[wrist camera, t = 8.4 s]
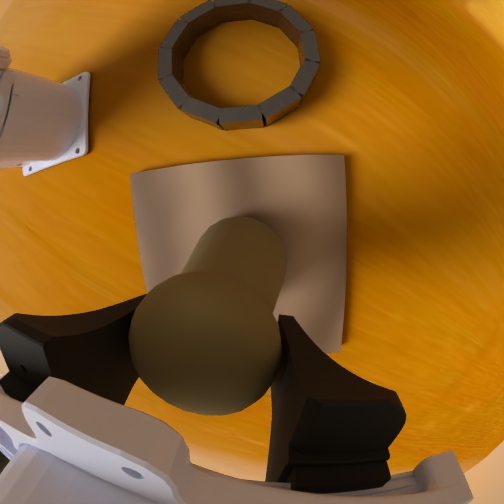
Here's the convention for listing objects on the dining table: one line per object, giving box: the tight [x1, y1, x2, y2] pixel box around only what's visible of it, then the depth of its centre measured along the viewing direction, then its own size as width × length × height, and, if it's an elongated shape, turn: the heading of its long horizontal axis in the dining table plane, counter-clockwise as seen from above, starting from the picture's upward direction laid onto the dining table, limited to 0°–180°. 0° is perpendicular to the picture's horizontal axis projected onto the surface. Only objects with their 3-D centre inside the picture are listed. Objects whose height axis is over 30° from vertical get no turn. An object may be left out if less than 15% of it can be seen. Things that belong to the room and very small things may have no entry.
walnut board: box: [130, 154, 347, 354], centre depth 20 cm, size 15×15×1 cm
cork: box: [128, 216, 287, 415], centre depth 12 cm, size 6×6×11 cm
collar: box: [158, 0, 321, 131], centre depth 15 cm, size 11×11×2 cm
